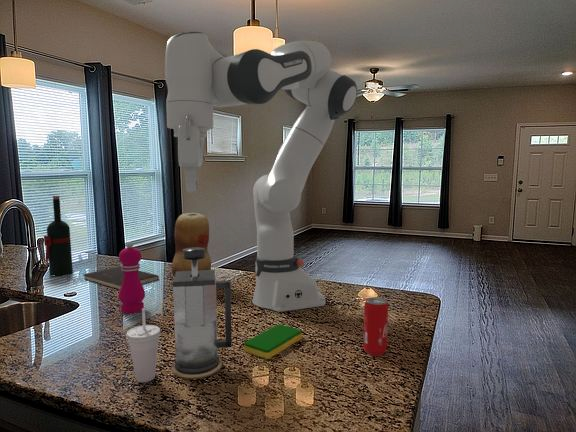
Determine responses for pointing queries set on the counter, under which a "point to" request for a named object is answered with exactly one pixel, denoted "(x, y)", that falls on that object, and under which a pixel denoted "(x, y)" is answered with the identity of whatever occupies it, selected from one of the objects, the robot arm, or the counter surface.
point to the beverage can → (375, 326)
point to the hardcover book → (117, 277)
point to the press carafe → (198, 324)
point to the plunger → (194, 257)
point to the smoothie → (144, 350)
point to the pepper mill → (131, 281)
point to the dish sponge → (272, 341)
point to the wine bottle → (58, 244)
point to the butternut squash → (191, 241)
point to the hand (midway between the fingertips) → (192, 190)
